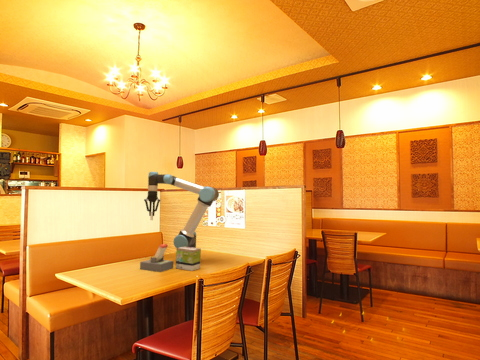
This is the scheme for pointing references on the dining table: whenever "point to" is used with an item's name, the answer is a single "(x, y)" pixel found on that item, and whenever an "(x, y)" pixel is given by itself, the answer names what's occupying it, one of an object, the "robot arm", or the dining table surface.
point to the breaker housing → (156, 265)
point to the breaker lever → (160, 252)
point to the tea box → (188, 258)
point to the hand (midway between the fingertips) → (151, 220)
